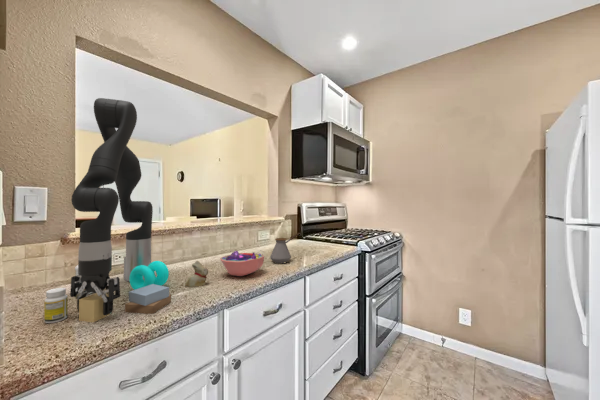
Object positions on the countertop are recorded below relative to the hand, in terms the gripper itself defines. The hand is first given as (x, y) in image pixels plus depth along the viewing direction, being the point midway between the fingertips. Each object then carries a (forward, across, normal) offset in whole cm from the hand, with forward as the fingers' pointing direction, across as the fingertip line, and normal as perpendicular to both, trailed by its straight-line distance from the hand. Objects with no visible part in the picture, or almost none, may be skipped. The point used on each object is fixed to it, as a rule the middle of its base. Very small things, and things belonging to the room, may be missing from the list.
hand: (95, 312), depth 73 cm
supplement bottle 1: (+2, -9, -3) cm, 10 cm away
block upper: (-1, +10, +9) cm, 14 cm away
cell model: (+2, +25, +48) cm, 54 cm away
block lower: (+2, +10, +9) cm, 14 cm away
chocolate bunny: (+2, +13, +31) cm, 34 cm away
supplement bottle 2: (+2, -22, +16) cm, 27 cm away
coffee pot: (+2, +39, +79) cm, 88 cm away
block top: (+1, 0, 0) cm, 1 cm away
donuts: (+2, -2, +23) cm, 23 cm away
